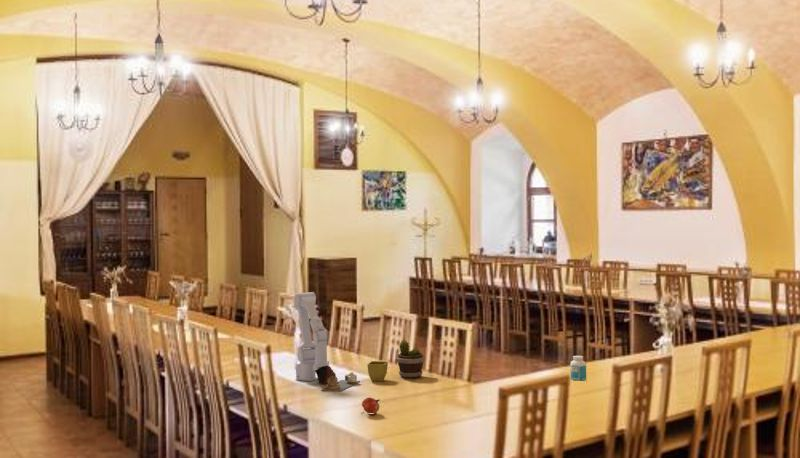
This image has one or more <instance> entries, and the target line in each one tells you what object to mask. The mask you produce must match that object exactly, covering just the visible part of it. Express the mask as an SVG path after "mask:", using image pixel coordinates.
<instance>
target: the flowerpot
mask: <svg viewBox="0 0 800 458" xmlns="http://www.w3.org/2000/svg"><path fill="white" fill-rule="evenodd" d="M410 347H411V346H410V342H408V341H407V340H406V339H404V338H402V340H401V341H400V342H399V346H398V350H399V353H398V354H397V356H396V357H395V362H396V363H397V365H398V367H399V371H398V374H399V376H400V378H402V379H405V380H406V379H407V380H409V379H410V380H412V379H415V380H416V379H420V378H421V376H422V375H423V372H424V371H423V365H424V362H425V361H426V357H425V355H424V353H423V352H420V350H419V349H418V348H416V347H415V346H414V348H412V349H411V348H410Z"/></svg>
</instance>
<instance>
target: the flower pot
mask: <svg viewBox="0 0 800 458" xmlns="http://www.w3.org/2000/svg"><path fill="white" fill-rule="evenodd" d="M388 362H389V361H382V360H380V361H377V360H371V361H369V362H368V363H367V364H366V365H367V371H368V372H367V373H368V376H369V379H370V381H371V382H383V381H384V380H385V379H386V378H385V377H386V375H387V374H388V372H387V371H388V365H389V363H388Z"/></svg>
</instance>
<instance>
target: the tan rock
mask: <svg viewBox="0 0 800 458" xmlns="http://www.w3.org/2000/svg"><path fill="white" fill-rule="evenodd" d="M337 379H338V377H337V378H334V376H330V378H328V384H325V386H324V388H325V389H339V388H340V385H337V382H338V381H337Z"/></svg>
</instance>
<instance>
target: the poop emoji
mask: <svg viewBox="0 0 800 458" xmlns="http://www.w3.org/2000/svg"><path fill="white" fill-rule="evenodd" d="M325 367H328V370H327V372H326V375H325V379H324V382H323V383H319V381H318V380H317V383H318V384H320V385H328V378H330V376H334V378H337V382H338V381H339V379H338V377H337V376H336V375H337V374H336V372H334V369H332V367H331V366H330V365H328V366H325Z"/></svg>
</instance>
